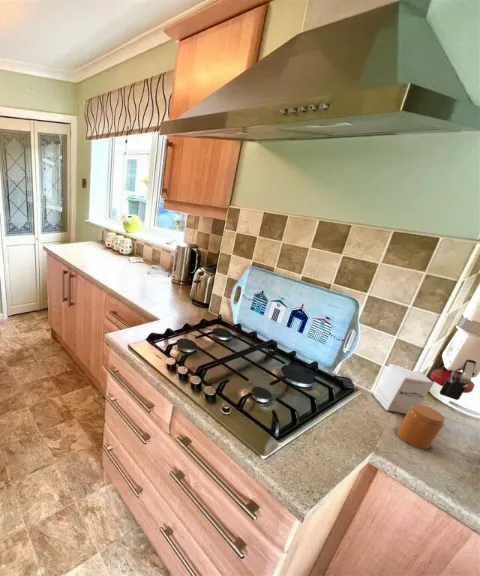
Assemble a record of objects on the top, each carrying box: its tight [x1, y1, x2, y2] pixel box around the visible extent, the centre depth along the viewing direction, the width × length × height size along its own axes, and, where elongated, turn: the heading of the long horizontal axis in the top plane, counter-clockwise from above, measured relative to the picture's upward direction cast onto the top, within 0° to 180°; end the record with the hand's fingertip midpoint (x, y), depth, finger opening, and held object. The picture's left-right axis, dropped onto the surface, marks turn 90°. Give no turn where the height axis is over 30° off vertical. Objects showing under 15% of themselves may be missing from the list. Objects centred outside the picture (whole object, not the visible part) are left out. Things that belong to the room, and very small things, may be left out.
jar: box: [396, 404, 445, 450], centre depth 82 cm, size 7×7×10 cm
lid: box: [429, 368, 475, 394], centre depth 76 cm, size 7×7×2 cm
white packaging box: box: [373, 363, 434, 415], centre depth 94 cm, size 7×7×13 cm
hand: (446, 388), depth 77 cm, fingers closed on lid, 7 cm apart
